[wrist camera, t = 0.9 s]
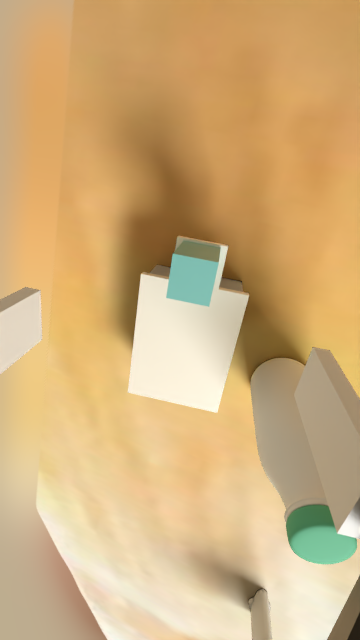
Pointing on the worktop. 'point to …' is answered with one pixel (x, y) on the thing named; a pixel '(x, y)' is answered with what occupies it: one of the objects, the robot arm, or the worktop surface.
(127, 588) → the worktop surface
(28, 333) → the robot arm
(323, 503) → the milk bottle
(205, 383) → the lid
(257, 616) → the tall pale column
